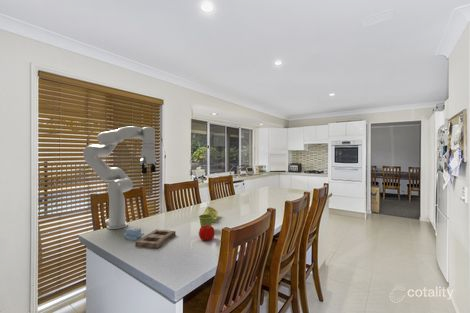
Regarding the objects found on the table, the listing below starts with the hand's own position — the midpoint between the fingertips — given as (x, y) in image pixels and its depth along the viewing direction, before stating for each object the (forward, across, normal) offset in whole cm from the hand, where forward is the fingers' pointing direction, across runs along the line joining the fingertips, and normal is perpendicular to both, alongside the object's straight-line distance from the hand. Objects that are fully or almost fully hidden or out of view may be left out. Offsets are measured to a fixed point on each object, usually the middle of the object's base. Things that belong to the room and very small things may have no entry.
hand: (148, 172), depth 151 cm
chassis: (+37, +16, +15) cm, 43 cm away
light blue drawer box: (+37, +16, 0) cm, 40 cm away
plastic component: (+37, -30, +31) cm, 57 cm away
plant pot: (+37, -8, +36) cm, 52 cm away
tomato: (+37, +8, +42) cm, 57 cm away
